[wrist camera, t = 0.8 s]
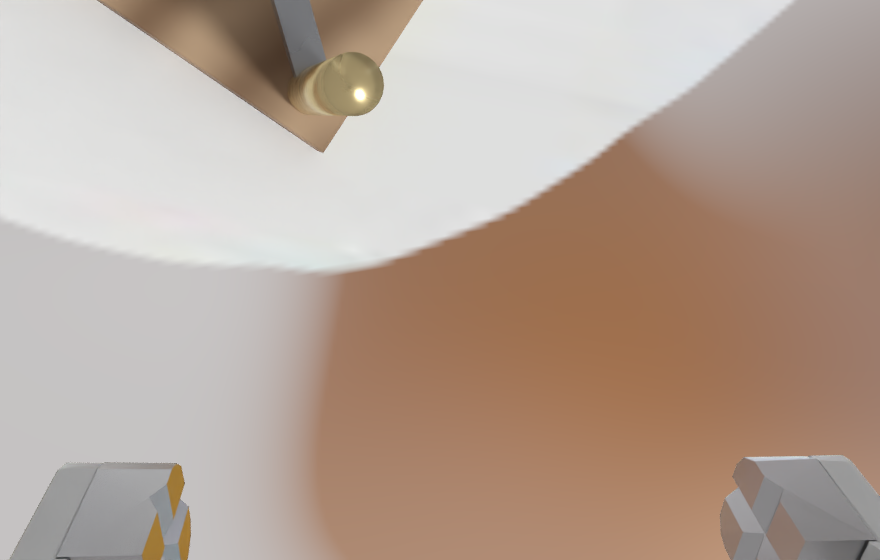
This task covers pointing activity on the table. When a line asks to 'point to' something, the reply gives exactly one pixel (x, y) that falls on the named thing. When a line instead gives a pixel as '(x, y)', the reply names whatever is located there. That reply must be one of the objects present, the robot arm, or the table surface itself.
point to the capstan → (324, 68)
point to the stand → (266, 46)
